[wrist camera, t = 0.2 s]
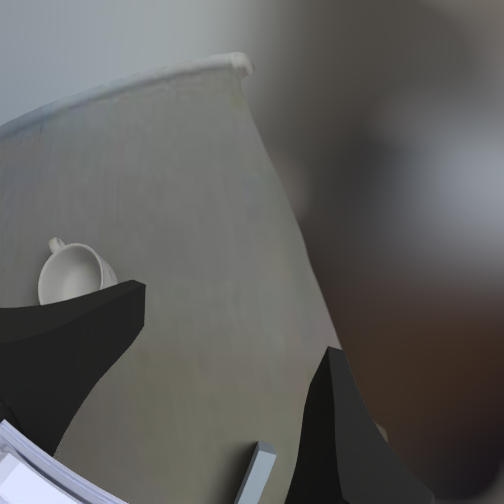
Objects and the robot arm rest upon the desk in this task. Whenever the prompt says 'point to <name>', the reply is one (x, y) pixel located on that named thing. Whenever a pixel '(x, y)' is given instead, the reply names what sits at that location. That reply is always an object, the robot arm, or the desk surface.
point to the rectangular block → (256, 474)
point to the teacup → (72, 272)
